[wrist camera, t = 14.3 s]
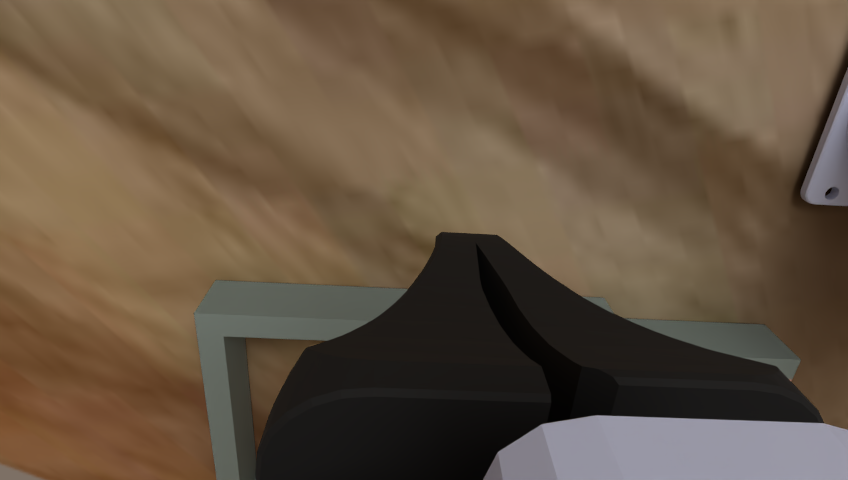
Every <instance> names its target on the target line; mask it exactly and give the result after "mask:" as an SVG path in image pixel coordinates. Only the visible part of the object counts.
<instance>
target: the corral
mask: <svg viewBox="0 0 848 480" xmlns="http://www.w3.org/2000/svg"><path fill="white" fill-rule="evenodd" d="M407 290H408V289H397V288H375V287H353V286H331V285H309V284H287V283H265V282H243V281H221V280H215V282H214V283H213V285H212V287H211V288H210V290H209V291H208V293H207V294H206V296H205V297H204V299H203V300H202V302H201V303H200V305H199V306H198V308H197V309H196V311H195V313H194V317H195V324H196V332H197V339H198V346H199V354H200V361H201V368H202V376H203V383H204V390H205V397H206V405H207V412H208V419H209V427H210V434H211V441H212V449H213V456H214V463H215V471H216V478H217V480H256V476H255V471H256V452H255V441H254V430H253V419H252V408H251V397H250V386H249V375H248V364H247V354H246V343H245V337H250V338H275V339H299V340H324V341H328V340H331V339H334V338H336V337H339V336H342V335H344V334H346V333H349V332H351V331H353V330H355V329H357V328H359V327H361V326H363V325H365V324H366V323H368V322H370V321H372V320H373V319H375V318H376V317H378V316H379V315H381V314H382V313H383V312H384V311H386V310H387V309H388V308H389V307H391V306H392V305H393V304H394V303H395V302H396V301H397V300H398V299H399V298H400V297H401V296H402V295H403V294H404V293H405V292H406V291H407ZM583 298H585V299H587V300H589V301H591V302H592V303H594V304H596V305H598V306H600V307H602V308H604V309H605V310H607V311H609V312H611V313H613V312H612V310H611V308H610V307H609V305H608V303H607V302H606V300H605V298H595V297H583ZM613 314H614V313H613ZM624 319H625V318H624ZM626 320H629V321H631V322H634V323H636V324H638V325H641V326H643V327H645V328H648V329H650V330H653V331H655V332H658V333H661V334H664V335H666V336H669V337H672V338H675V339H678V340H681V341H684V342H687V343H690V344H694V345H697V346H700V347H703V348H706V349H710V350H713V351H717V352H721V353H725V354H729V355H733V356H737V357H741V358H746V359H750V360H754V361H758V362H762V363H766V364H770V365H774V366H777V367H778V368H779V369H780V370H781V371H782V372H783V374H784V375H785V376H786V377H787V378H788V379H789V380H790V381H792V379H793V376H794V374H795V372H796V370H797V368H798V365H799V363H800V361H801V359H800V358H799V357H798V356H797V355H795V354H794V353H793V352H792V351H791V350H790V349H789V348H788V347H787V346H786V345H785V344H784V343H783V342H782V341H781V340H780V339H779V338H778V337H777V336H776V335H775V334H774V333H773V332H772V331H771V330H770V329H769V328H768V327H767V326H766V325H763V324H740V323H717V322H694V321H671V320H648V319H626Z"/></svg>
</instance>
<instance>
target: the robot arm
mask: <svg viewBox="0 0 848 480" xmlns="http://www.w3.org/2000/svg"><path fill="white" fill-rule="evenodd" d="M831 187H832V190H831V192H830V193H829V194H828V195H826V196H825V193H826V192H827V190H828V189H830V188H831ZM800 194H801V198H802V199H803V200H805V201H806V202H808V203H810V204H815V205H833V206H848V68H847V71H846V73H845V76H844V79H843V81H842V84H841V86H840V89H839V92H838V94H837V97H836V99H835V102H834V105H833V107H832V110H831V112H830V115H829V118H828V120H827V123H826V125H825V128H824V131H823V133H822V136H821V138H820V141H819V144H818V146H817V149H816V151H815V154H814V157H813V159H812V162H811V164H810V167H809V170H808V172H807V175H806V177H805V180H804V183H803V185H802V188H801V192H800ZM255 476H256V480H848V430H846V429H842V428H839V427H835V426H832V425H828V424H824V422H823V420H822V418H821V416H820V413H819V411H818V410H817V409H816V408H815V407H814V405H813V404H812V403H811V402H810V401H809V400H808V399H807V398H806V397H805V396H804V395H803V394H802V393H801V392H800V391H799V390H798V388H797V387H796V386H795V385H794V384H793V383H792V382H791V381H790V380H789V379H788V378H787V377H786V376H785V375H784V374H783V372H782V371H781V370H780V369H779V368H778V367H777V366H774V365H770V364H766V363H762V362H758V361H754V360H750V359H746V358H741V357H737V356H733V355H729V354H725V353H721V352H717V351H713V350H710V349H706V348H703V347H700V346H697V345H694V344H690V343H687V342H684V341H681V340H678V339H675V338H672V337H669V336H666V335H664V334H661V333H658V332H655V331H653V330H650V329H648V328H645V327H643V326H641V325H638V324H636V323H634V322H631V321H629V320H626V319H624V318H622V317H620V316H618V315H616V314H613V313H611V312H609V311H607V310H605V309H604V308H602V307H600V306H598V305H596V304H594V303H592V302H591V301H589V300H587V299H585V298H583V297H582V296H580V295H578V294H577V293H575V292H573V291H572V290H570V289H569V288H567V287H566V286H564V285H563V284H561V283H560V282H558V281H557V280H555V279H554V278H552V277H551V276H550V275H548V274H547V273H545V272H544V271H543V270H541V269H540V268H539V267H537V266H536V265H535V264H534V263H532V262H531V261H530V260H528V259H527V258H526V257H525V256H523V255H522V254H521V253H520V252H519V251H517V250H516V249H515V248H514V247H512V246H511V245H510V244H509V243H507V242H506V241H505V240H504V239H502V238H501V237H499V236H498V235H488V234H468V233H448V232H441V233H440V234H439V235H437V236H436V242H435V248H434V250H433V253H432V255H431V257H430V258H429V260H428V262H427V264H426V266H425V267H424V269H423V270H422V272H421V273H420V274H419V276H418V277H417V279H416V280H415V281H414V283H413V284H412V285H411V286H410V288H409V289H408V290H407V291H406V292H405V293H404V294H403V295H402V296H401V297H400V298H399V299H398V300H397V301H396V302H395V303H394V304H393V305H392V306H391V307H389V308H388V309H387V310H386V311H384V312H383V313H382V314H381V315H379V316H378V317H376V318H375V319H373V320H372V321H370V322H368V323H366V324H365V325H363V326H361V327H359V328H357V329H355V330H353V331H351V332H349V333H346V334H344V335H342V336H339V337H336V338H334V339H331V340H328V341H325V342H323V343H320V344H317V345H314V346H311V347H307V348H306V349H305V350H304V351H303V353H302V355H301V356H300V358H299V359H298V361H297V362H296V364H295V366H294V367H293V369H292V371H291V372H290V374H289V376H288V378H287V379H286V381H285V383H284V385H283V387H282V389H281V391H280V393H279V395H278V397H277V399H276V401H275V403H274V405H273V407H272V410H271V412H270V414H269V417H268V420H267V423H266V426H265V429H264V433H263V436H262V439H261V442H260V445H259V448H258V451H257V460H256V471H255Z"/></svg>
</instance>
